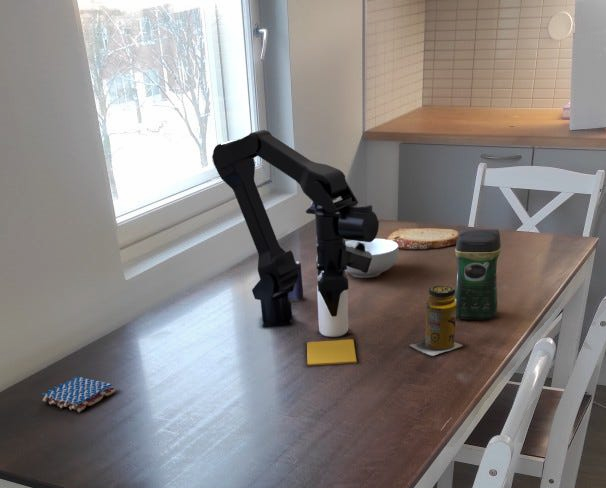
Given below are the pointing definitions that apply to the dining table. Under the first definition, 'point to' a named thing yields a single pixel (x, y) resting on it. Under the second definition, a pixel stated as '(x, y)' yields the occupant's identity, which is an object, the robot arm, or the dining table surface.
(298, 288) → the flask
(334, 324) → the can
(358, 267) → the robot arm
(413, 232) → the slice of bread
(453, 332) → the condiment
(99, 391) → the woven mat
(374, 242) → the cereal bowl
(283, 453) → the dining table surface
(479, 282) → the coffee jar
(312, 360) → the cloth
